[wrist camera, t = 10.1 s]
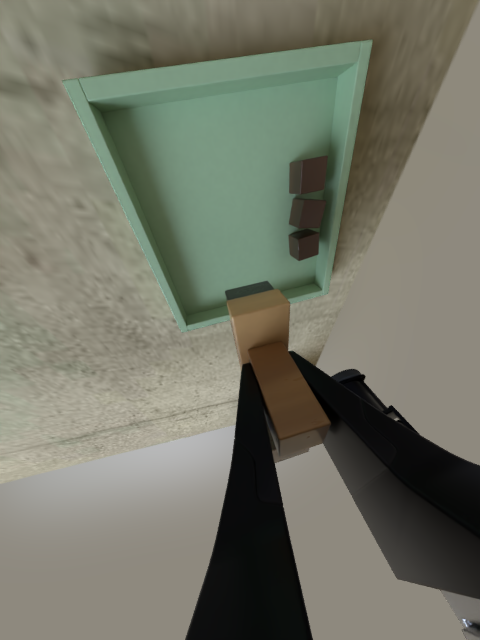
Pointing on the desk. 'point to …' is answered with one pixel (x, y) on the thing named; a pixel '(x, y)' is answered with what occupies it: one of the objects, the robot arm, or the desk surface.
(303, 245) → the crumb
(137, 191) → the tray
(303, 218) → the crumb
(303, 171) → the crumb
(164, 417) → the desk surface
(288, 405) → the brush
